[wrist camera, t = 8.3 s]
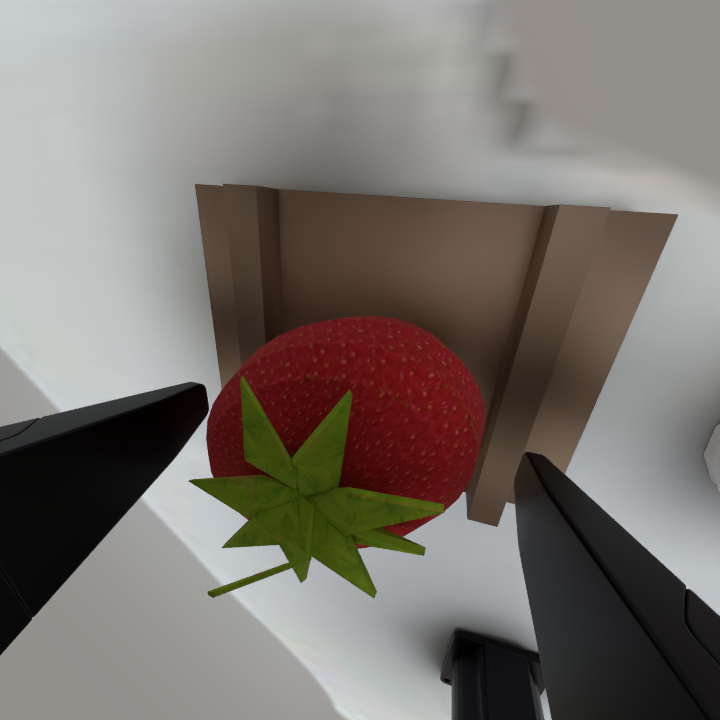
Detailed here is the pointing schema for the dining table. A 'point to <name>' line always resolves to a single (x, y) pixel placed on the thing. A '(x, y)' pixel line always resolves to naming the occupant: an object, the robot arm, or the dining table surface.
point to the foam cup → (714, 456)
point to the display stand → (444, 297)
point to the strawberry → (343, 442)
